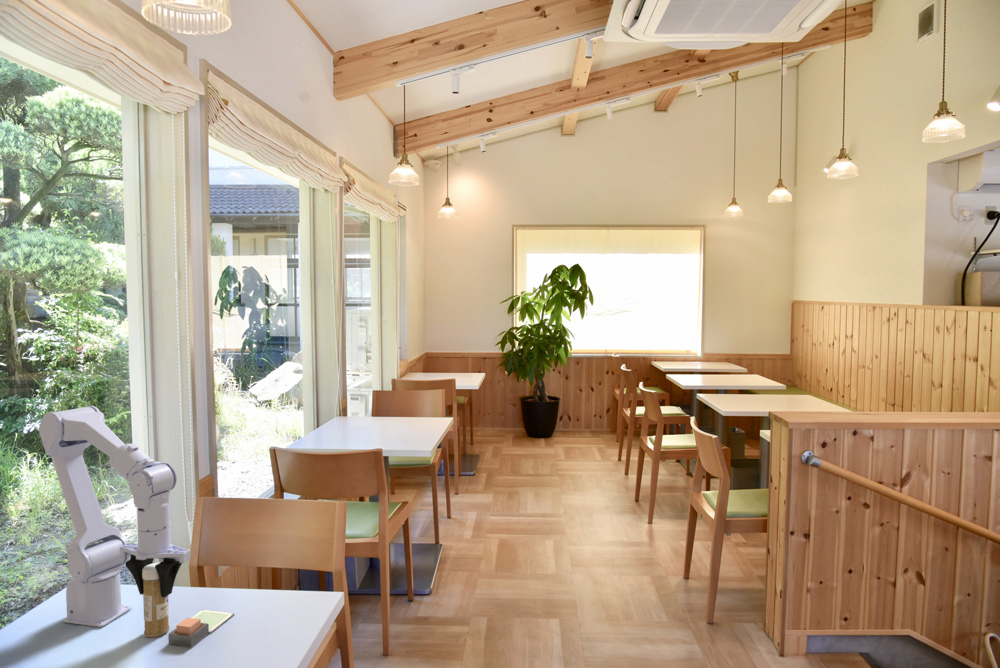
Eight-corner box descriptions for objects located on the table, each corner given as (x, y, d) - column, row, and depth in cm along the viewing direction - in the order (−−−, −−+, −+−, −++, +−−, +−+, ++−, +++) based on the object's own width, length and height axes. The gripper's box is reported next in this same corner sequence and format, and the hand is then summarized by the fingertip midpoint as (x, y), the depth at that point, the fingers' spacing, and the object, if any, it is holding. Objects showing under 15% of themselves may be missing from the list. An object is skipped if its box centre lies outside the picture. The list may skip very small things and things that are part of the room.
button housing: (168, 645, 121) (168, 634, 121) (186, 631, 126) (186, 620, 125) (191, 648, 120) (191, 637, 120) (208, 634, 125) (208, 623, 124)
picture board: (177, 629, 126) (177, 627, 126) (202, 611, 134) (202, 609, 134) (210, 634, 125) (210, 632, 125) (234, 615, 132) (234, 613, 132)
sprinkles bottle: (170, 634, 124) (168, 568, 124) (143, 640, 122) (142, 572, 121) (169, 624, 128) (167, 559, 128) (143, 629, 126) (142, 564, 125)
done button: (176, 635, 121) (176, 625, 121) (187, 627, 124) (187, 617, 124) (190, 637, 121) (190, 627, 121) (200, 629, 124) (200, 619, 124)
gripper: (106, 530, 121) (108, 599, 122) (171, 537, 119) (173, 607, 119) (134, 518, 128) (136, 582, 129) (197, 524, 125) (198, 590, 126)
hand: (155, 593), depth 125 cm, fingers closed on sprinkles bottle, 4 cm apart
